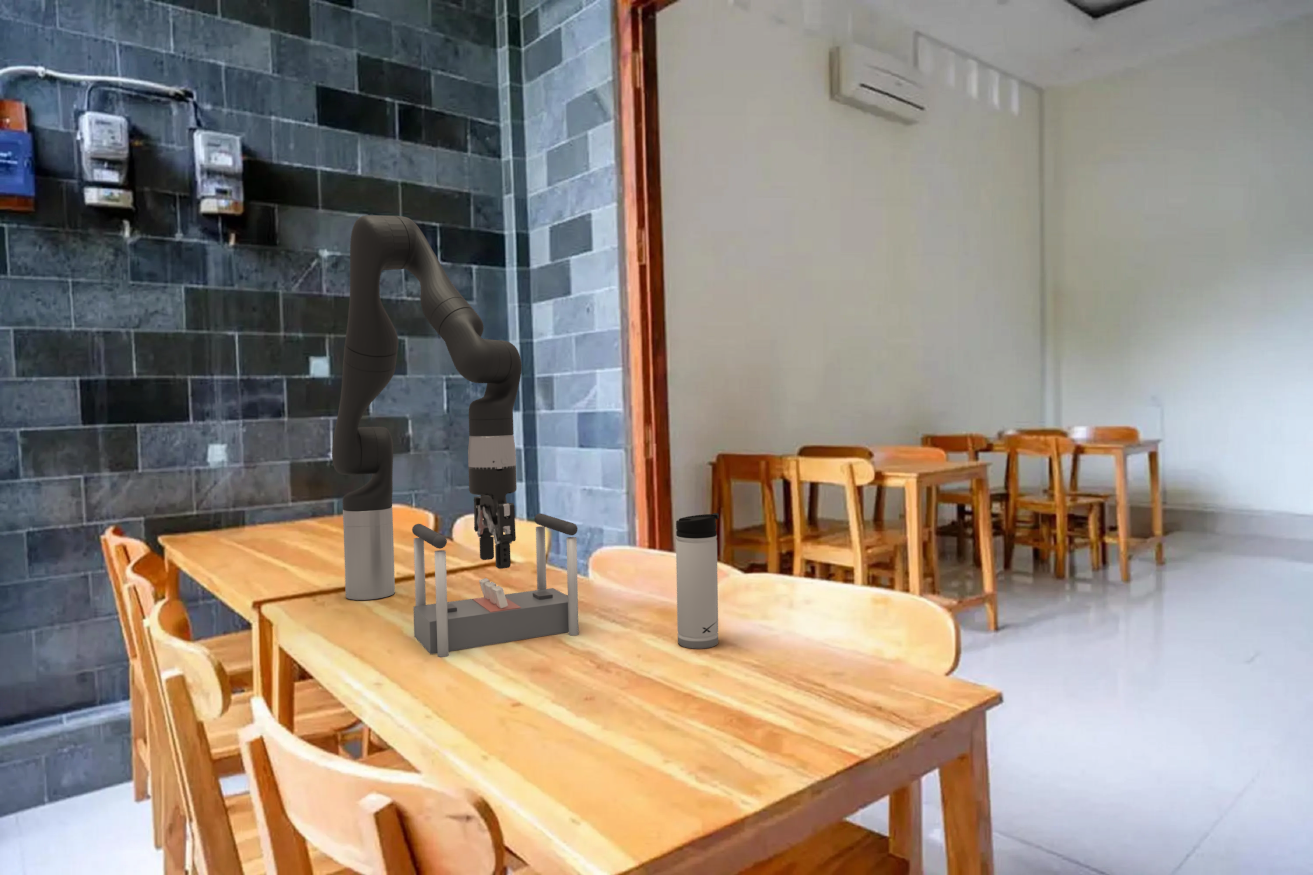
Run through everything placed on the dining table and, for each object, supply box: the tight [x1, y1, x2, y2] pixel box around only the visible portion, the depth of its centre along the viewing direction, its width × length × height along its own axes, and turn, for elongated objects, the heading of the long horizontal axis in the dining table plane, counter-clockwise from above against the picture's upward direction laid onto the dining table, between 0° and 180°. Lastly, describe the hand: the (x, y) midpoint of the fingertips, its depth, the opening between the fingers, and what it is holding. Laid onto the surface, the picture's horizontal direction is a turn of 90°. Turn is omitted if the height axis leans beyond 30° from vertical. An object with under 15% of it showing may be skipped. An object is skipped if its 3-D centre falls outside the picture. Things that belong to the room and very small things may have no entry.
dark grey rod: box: [534, 513, 578, 536], centre depth 137 cm, size 16×2×2 cm, turn 29°
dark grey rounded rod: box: [411, 523, 448, 550], centre depth 127 cm, size 16×2×2 cm, turn 29°
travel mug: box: [675, 512, 720, 650], centre depth 125 cm, size 6×7×20 cm
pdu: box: [412, 525, 580, 658], centre depth 132 cm, size 16×24×16 cm, turn 119°
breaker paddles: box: [478, 577, 508, 608], centre depth 132 cm, size 9×1×3 cm, turn 29°
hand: (494, 563), depth 132 cm, fingers open, 8 cm apart
